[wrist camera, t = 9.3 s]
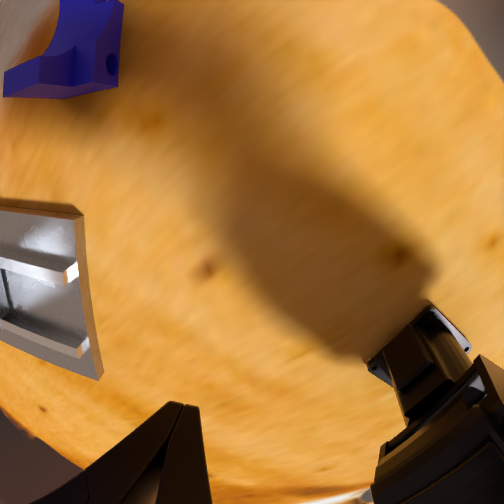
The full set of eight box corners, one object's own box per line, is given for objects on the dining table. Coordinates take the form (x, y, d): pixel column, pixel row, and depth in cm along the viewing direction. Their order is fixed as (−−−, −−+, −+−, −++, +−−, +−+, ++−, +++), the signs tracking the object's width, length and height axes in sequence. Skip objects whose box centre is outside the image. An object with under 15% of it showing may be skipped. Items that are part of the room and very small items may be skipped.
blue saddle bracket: (119, 87, 16) (60, 76, 11) (65, 99, 17) (2, 97, 11) (135, -58, 12) (96, -96, 6) (82, -39, 12) (37, -67, 7)
